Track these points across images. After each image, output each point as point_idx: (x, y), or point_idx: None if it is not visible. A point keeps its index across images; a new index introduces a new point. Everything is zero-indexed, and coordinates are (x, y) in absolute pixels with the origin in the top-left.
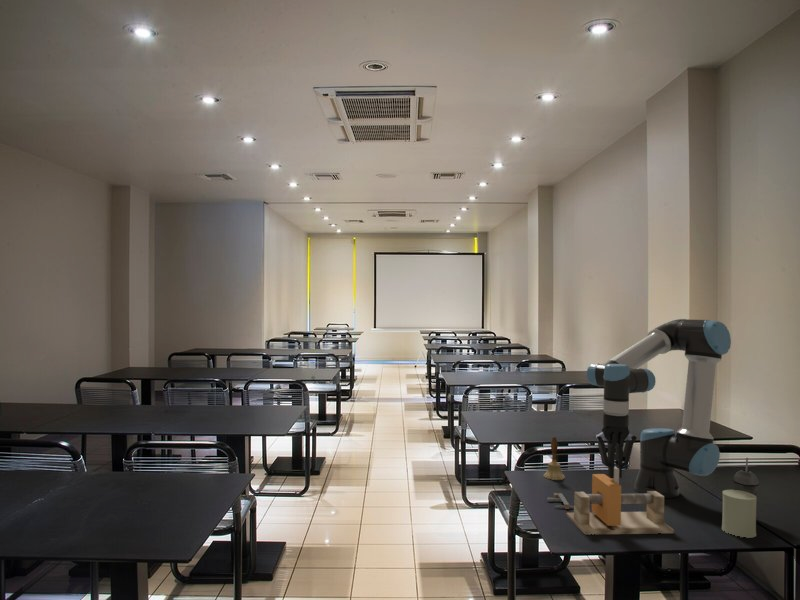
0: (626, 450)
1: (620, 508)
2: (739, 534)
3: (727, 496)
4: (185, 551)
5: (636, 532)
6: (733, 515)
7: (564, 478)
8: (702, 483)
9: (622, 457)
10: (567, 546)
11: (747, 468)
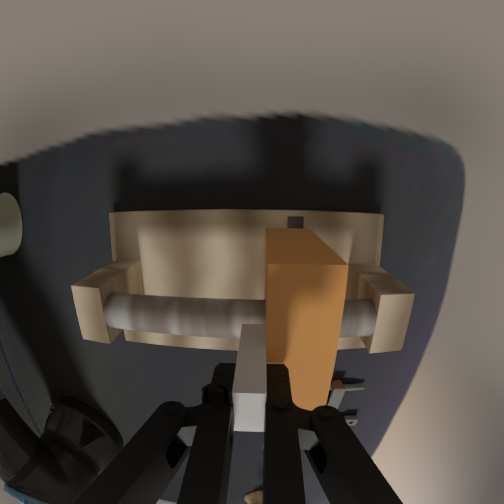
0: (137, 496)
1: (268, 238)
2: (9, 196)
3: None
4: None
5: (220, 209)
6: None
7: (248, 493)
8: (27, 419)
9: (191, 454)
10: (442, 151)
11: None
